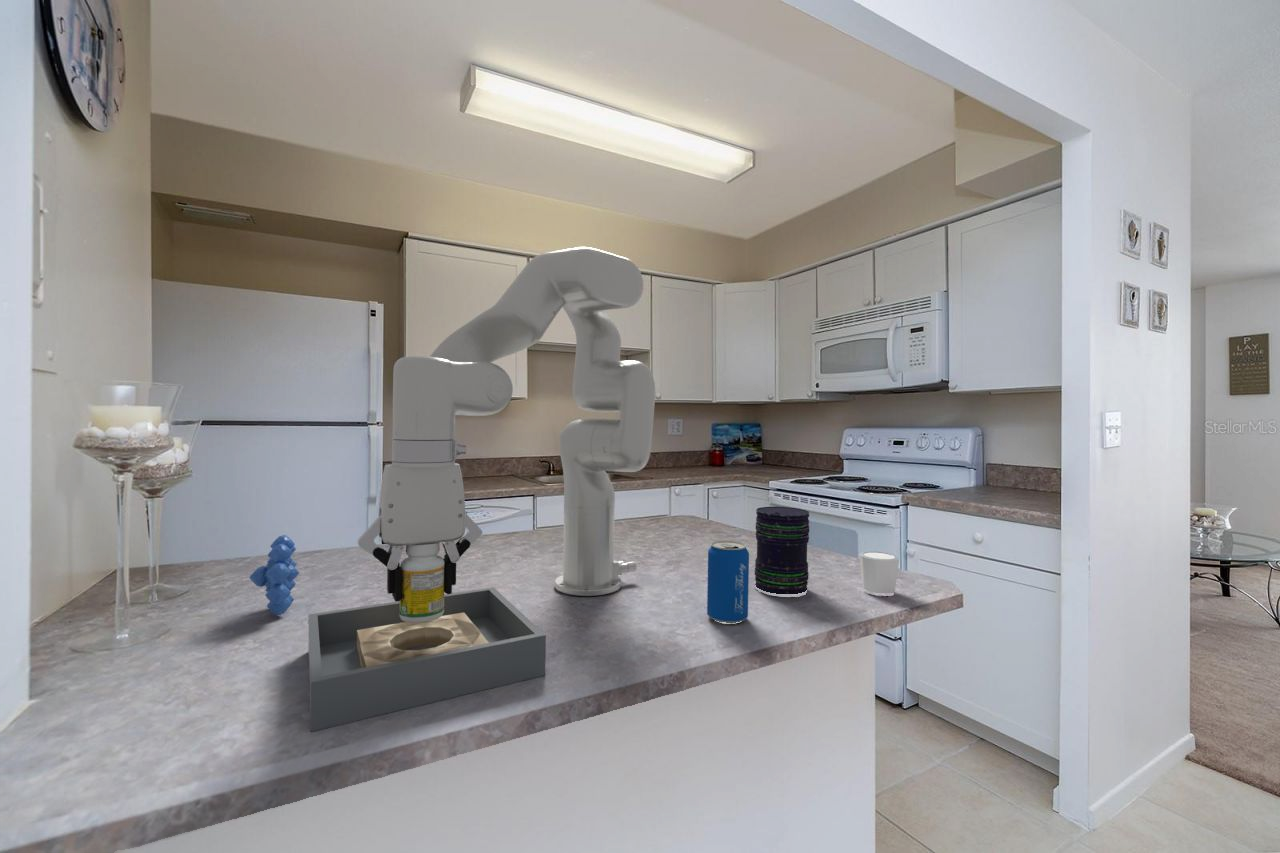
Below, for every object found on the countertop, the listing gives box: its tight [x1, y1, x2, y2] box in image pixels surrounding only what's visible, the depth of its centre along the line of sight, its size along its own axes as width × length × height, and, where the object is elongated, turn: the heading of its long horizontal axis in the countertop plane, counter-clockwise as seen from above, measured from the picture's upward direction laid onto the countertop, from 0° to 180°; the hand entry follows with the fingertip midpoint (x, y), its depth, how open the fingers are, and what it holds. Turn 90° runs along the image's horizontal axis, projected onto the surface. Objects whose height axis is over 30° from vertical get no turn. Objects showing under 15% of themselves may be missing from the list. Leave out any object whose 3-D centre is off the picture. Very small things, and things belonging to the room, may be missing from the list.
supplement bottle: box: [400, 542, 445, 623], centre depth 72 cm, size 5×5×10 cm
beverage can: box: [706, 540, 750, 623], centre depth 89 cm, size 6×6×12 cm
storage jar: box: [754, 506, 810, 594], centre depth 105 cm, size 10×10×15 cm
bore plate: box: [357, 612, 489, 668], centre depth 72 cm, size 14×14×2 cm
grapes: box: [249, 534, 300, 616], centre depth 89 cm, size 12×7×12 cm, turn 27°
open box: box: [307, 587, 547, 732], centre depth 72 cm, size 25×22×5 cm
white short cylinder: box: [859, 551, 900, 593], centre depth 104 cm, size 7×7×7 cm
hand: (422, 593), depth 72 cm, fingers closed on supplement bottle, 5 cm apart
